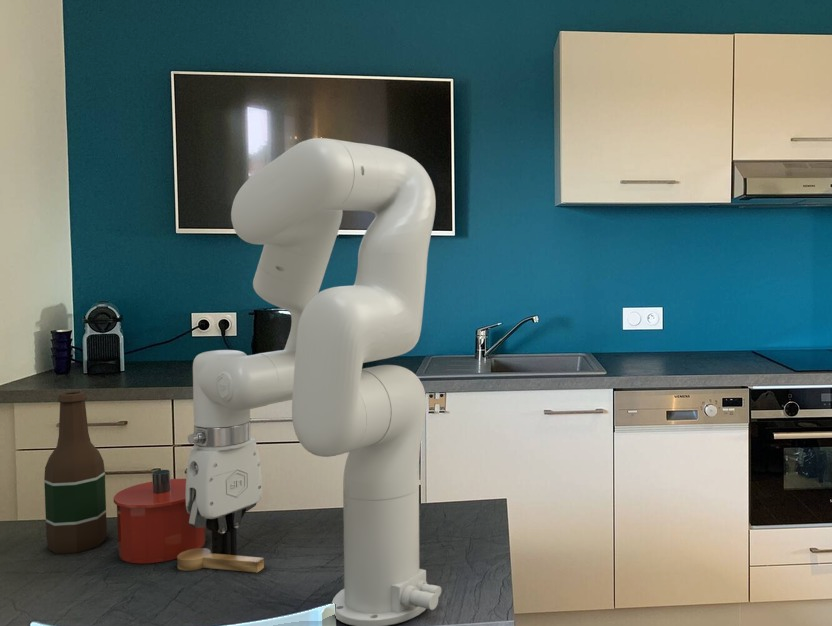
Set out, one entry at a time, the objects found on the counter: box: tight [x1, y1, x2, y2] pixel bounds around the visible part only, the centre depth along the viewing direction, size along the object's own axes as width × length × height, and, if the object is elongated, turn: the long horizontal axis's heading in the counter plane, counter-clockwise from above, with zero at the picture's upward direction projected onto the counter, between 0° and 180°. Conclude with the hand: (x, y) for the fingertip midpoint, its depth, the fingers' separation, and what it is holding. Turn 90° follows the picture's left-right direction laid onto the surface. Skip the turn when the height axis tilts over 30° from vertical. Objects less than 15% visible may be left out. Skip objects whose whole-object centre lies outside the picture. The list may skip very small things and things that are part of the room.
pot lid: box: [113, 469, 186, 508], centre depth 119 cm, size 13×13×4 cm
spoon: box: [176, 547, 265, 574], centre depth 113 cm, size 13×4×2 cm, turn 80°
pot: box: [116, 502, 207, 564], centre depth 120 cm, size 12×12×8 cm
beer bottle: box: [43, 390, 108, 555], centre depth 120 cm, size 8×8×24 cm
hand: (224, 555), depth 116 cm, fingers closed
